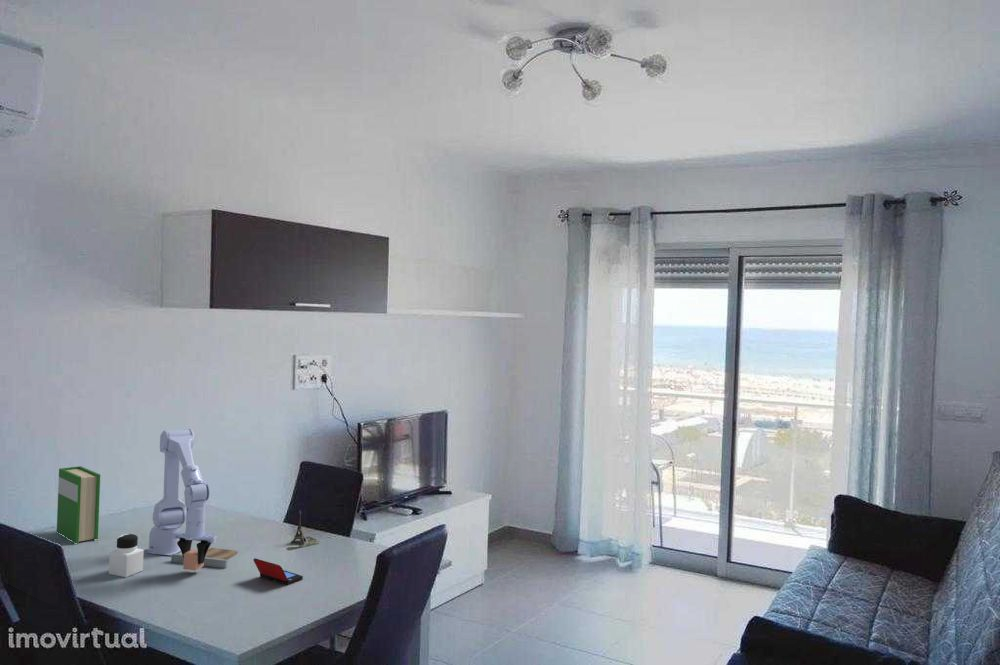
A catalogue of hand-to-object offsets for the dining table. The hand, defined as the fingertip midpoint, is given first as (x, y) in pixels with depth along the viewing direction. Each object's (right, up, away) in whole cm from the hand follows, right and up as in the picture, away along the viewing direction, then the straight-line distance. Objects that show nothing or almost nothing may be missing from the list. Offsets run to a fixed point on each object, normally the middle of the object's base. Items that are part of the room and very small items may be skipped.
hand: (193, 562), depth 242 cm
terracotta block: (0, -2, 0) cm, 2 cm away
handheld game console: (+28, -6, -2) cm, 28 cm away
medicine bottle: (-21, -3, -2) cm, 21 cm away
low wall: (-2, -3, +8) cm, 9 cm away
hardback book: (-55, 0, +31) cm, 63 cm away
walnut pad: (+1, -3, +17) cm, 17 cm away
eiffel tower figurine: (+24, -5, +36) cm, 44 cm away
